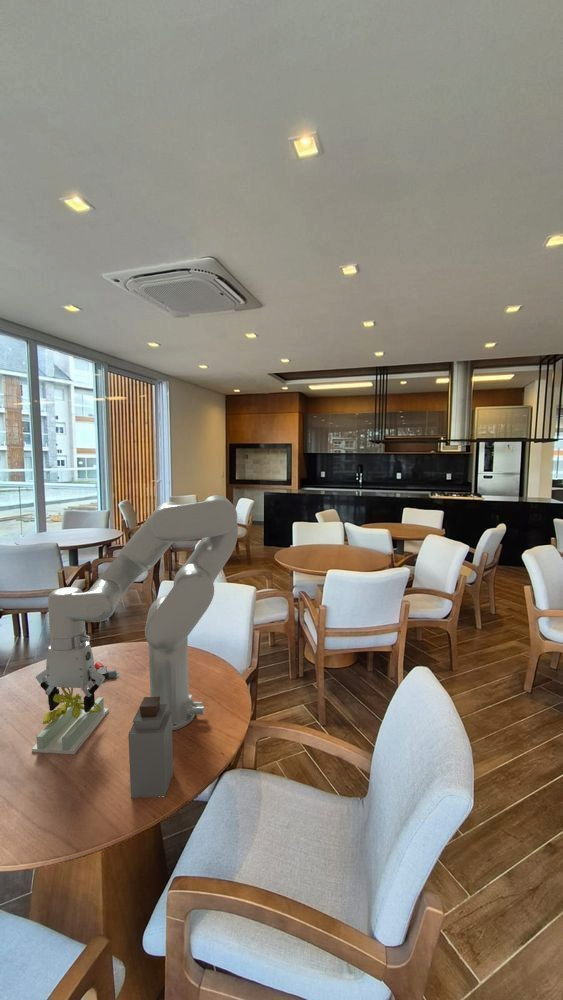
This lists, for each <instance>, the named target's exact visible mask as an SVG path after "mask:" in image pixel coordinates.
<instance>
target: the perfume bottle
mask: <svg viewBox="0 0 563 1000" xmlns="http://www.w3.org/2000/svg"><path fill="white" fill-rule="evenodd" d="M166 707H167V704H160V697H150V696H144V697H143V699H142V701H141V703H140V705H139V707H138V710H137V712H136V713H135V715H134V717H133V719H132V723H133V724H132V726H131V728H130V730H129V731H128V733H127V734H128V735H127V736H128V756H129V757H128V758H129V762H128V764H129V781H130V782H129V783H130V784H129V785H130V787H129V788H130V798H131V799H138V798H137V797H158V798H162V797H161V796H164V797H163V798H166V797H167V794H168V791H167V790H169V787H170V784H171V780H172V776H173V774H174V758H173V757H174V752H173V751H174V750H173V731H172V712H166ZM166 793H167V794H166ZM159 796H160V797H159ZM165 796H166V797H165ZM135 797H136V798H135Z"/></svg>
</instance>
